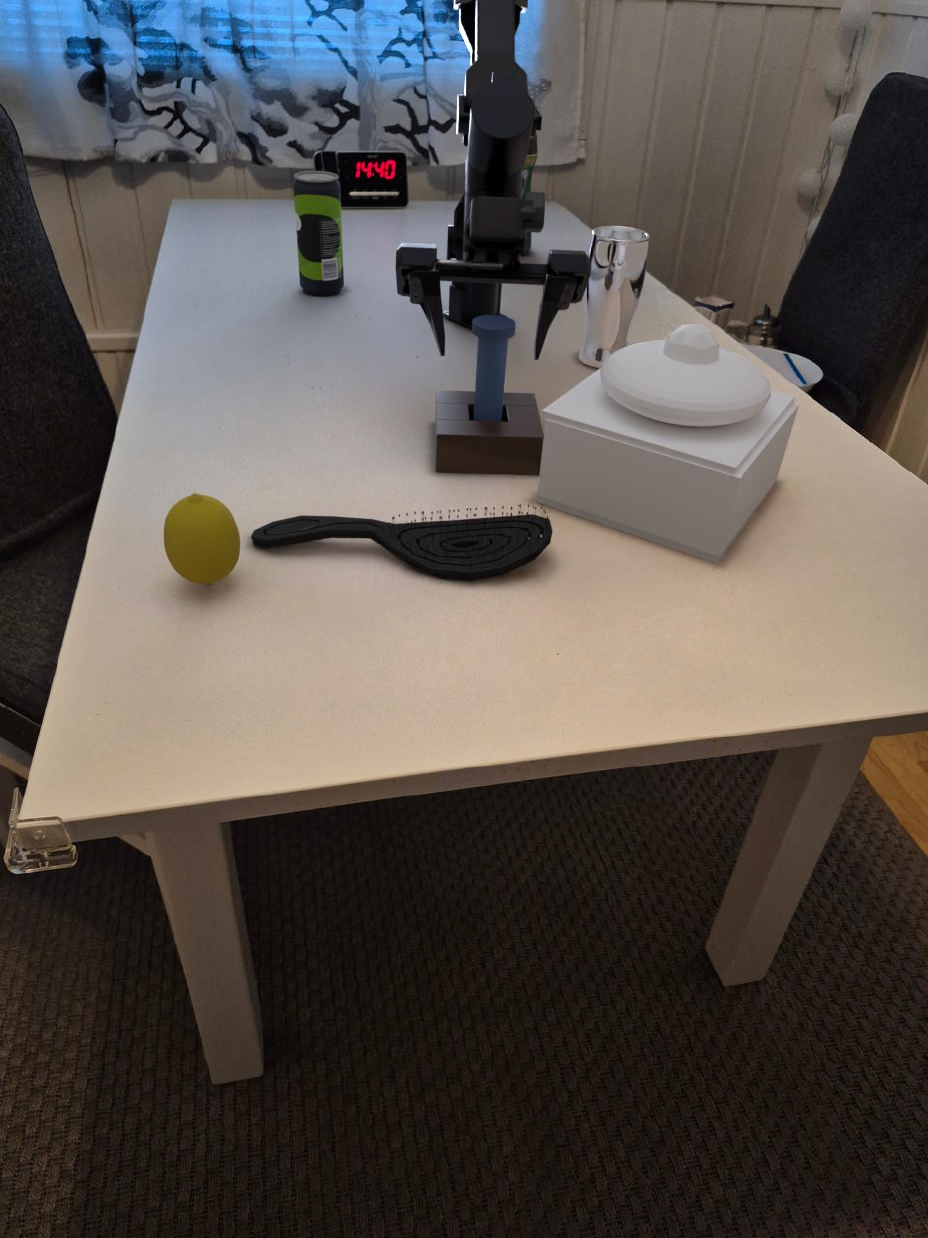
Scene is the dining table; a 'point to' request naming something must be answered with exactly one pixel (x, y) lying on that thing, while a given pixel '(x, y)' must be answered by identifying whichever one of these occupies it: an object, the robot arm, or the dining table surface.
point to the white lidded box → (668, 443)
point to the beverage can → (319, 232)
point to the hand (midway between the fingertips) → (489, 356)
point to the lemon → (201, 539)
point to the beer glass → (612, 290)
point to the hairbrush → (429, 540)
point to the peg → (491, 364)
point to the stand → (487, 435)
